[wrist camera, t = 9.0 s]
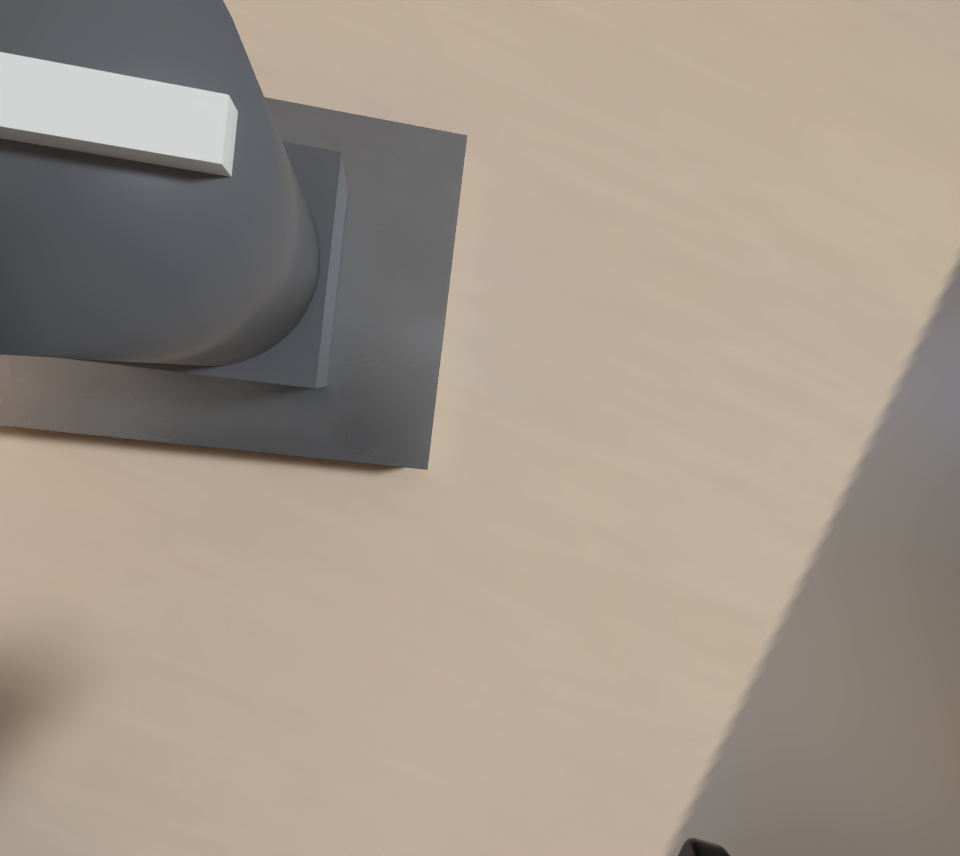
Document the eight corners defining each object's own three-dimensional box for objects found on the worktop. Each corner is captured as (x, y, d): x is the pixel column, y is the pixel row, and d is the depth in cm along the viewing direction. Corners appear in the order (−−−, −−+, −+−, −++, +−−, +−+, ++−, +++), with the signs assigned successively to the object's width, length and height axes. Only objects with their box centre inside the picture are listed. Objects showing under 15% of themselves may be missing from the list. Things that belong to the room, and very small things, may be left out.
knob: (122, 361, 18) (-393, 333, 6) (140, 157, 18) (-366, -310, 6) (326, 386, 19) (239, 404, 7) (347, 192, 19) (294, -145, 7)
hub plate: (20, 421, 19) (-73, 430, 15) (53, 80, 19) (-34, -4, 15) (423, 463, 21) (435, 480, 17) (460, 154, 21) (480, 98, 17)
